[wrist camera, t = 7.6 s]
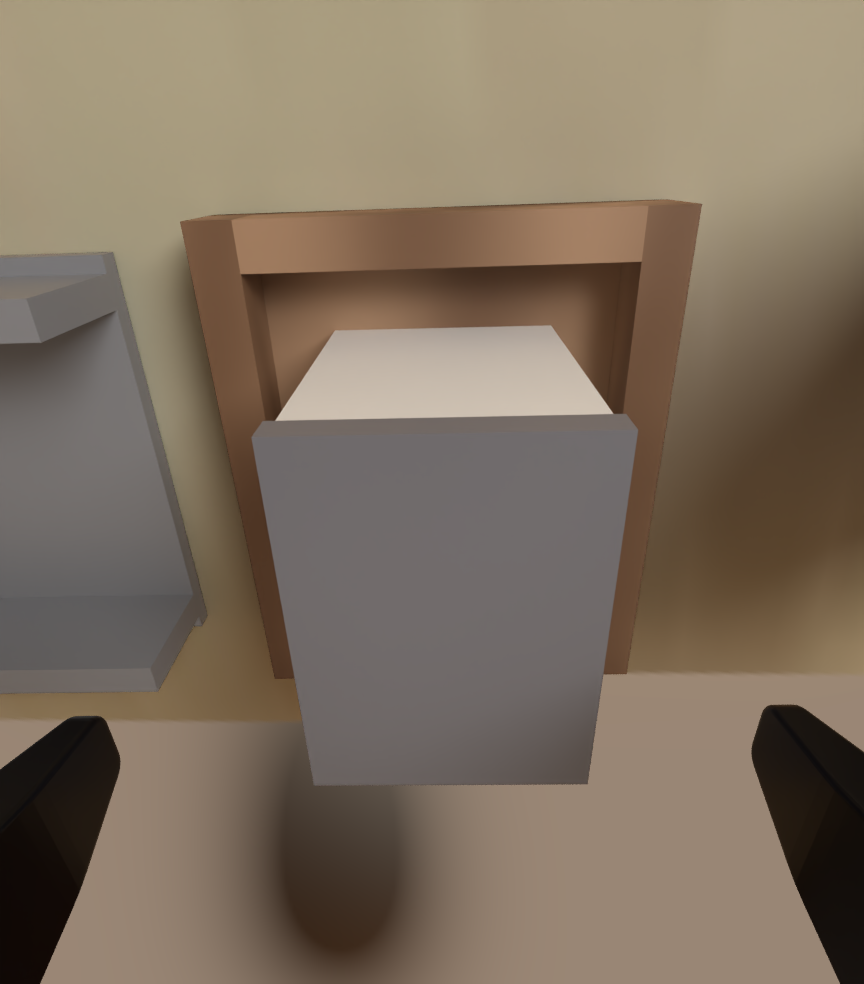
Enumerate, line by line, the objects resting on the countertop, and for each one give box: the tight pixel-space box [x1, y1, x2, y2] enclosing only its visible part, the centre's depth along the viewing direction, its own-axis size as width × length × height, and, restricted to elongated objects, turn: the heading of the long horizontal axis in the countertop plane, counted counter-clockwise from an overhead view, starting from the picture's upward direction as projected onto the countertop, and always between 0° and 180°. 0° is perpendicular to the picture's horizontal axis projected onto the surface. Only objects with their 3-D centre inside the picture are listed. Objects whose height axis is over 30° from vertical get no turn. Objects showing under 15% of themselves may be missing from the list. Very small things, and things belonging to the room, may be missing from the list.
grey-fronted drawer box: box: [251, 325, 638, 786], centre depth 13 cm, size 5×7×7 cm
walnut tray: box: [180, 200, 702, 679], centre depth 15 cm, size 10×12×2 cm
